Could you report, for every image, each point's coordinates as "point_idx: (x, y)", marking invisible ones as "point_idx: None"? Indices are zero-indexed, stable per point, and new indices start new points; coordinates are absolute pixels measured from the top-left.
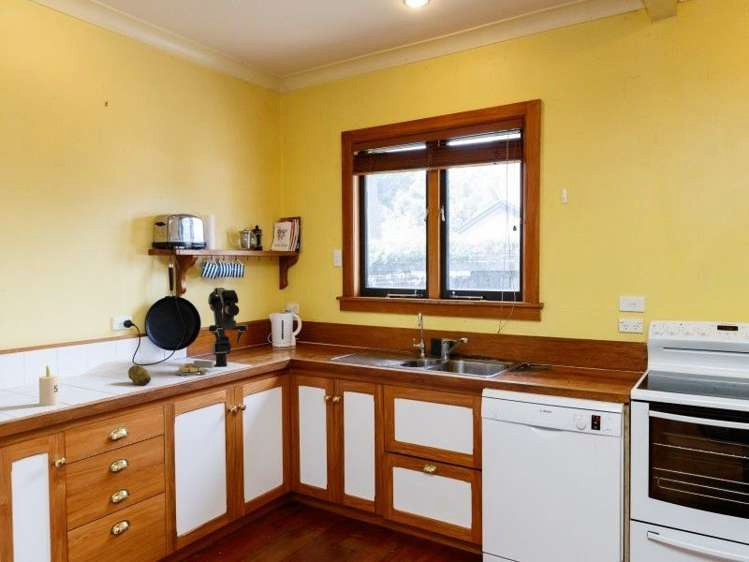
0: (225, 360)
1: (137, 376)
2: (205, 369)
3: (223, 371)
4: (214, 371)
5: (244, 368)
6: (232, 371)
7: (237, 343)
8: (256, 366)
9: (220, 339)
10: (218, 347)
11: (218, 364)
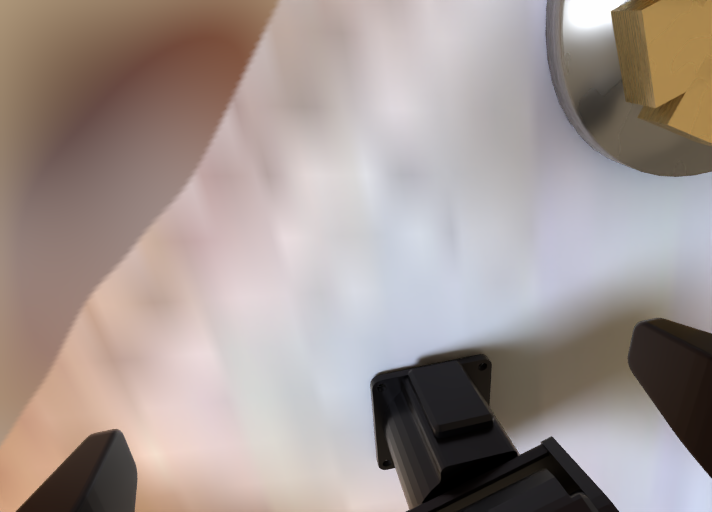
0: (402, 438)
1: None
2: (580, 74)
3: (355, 96)
4: (463, 99)
5: (139, 294)
6: (235, 93)
7: (91, 459)
8: (33, 412)
9: None
10: (566, 510)
11: (456, 366)
